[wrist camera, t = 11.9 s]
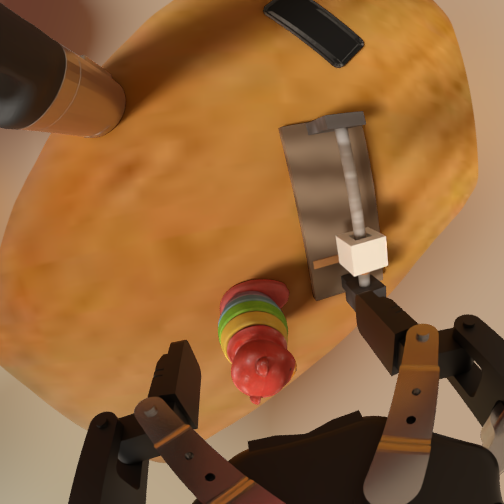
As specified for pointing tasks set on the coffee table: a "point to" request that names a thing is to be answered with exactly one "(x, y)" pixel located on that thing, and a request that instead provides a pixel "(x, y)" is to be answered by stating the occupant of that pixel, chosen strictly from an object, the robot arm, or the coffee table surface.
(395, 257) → the coffee table surface
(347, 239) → the sleeve
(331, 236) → the grey slider rail toy
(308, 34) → the phone
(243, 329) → the stacking bear
